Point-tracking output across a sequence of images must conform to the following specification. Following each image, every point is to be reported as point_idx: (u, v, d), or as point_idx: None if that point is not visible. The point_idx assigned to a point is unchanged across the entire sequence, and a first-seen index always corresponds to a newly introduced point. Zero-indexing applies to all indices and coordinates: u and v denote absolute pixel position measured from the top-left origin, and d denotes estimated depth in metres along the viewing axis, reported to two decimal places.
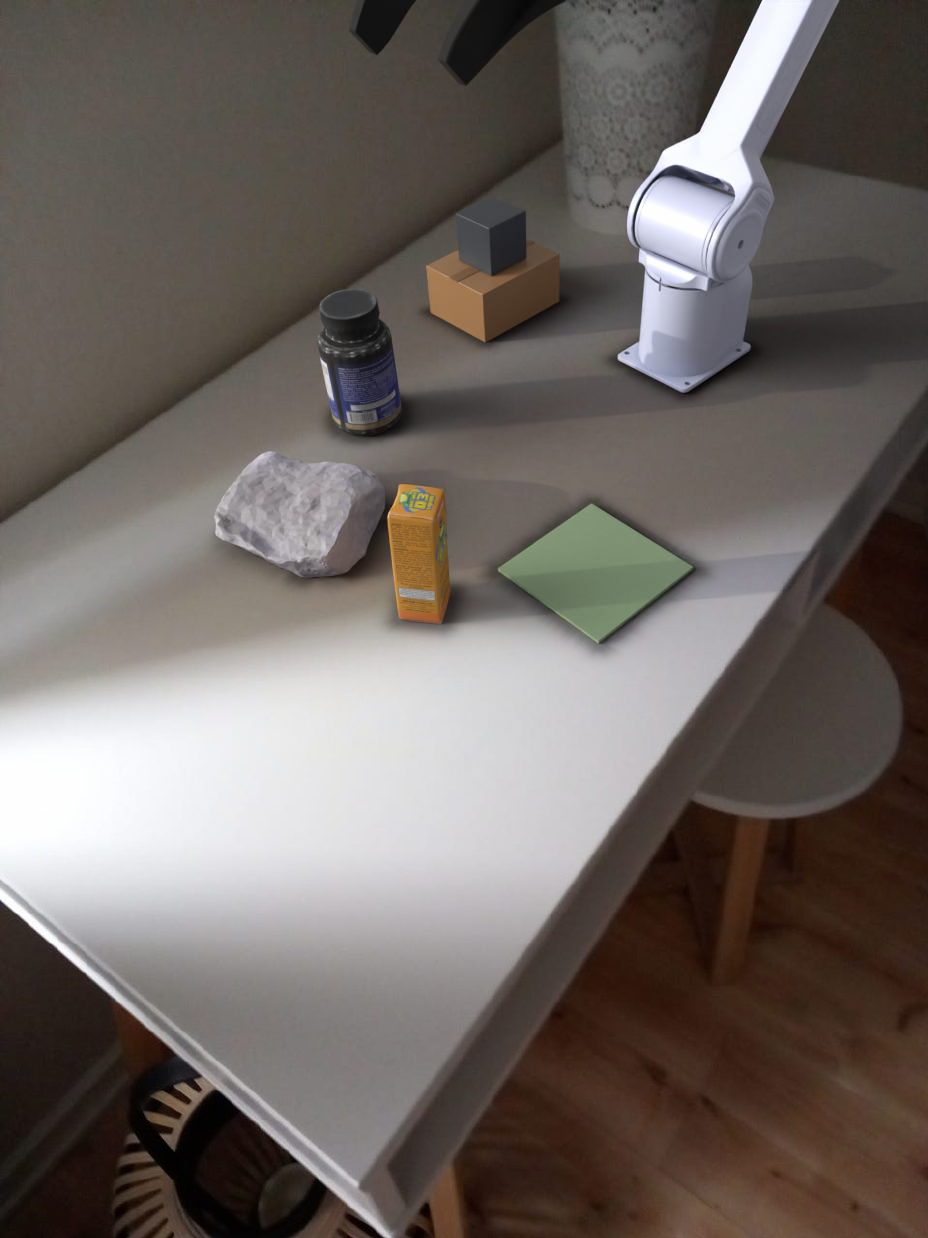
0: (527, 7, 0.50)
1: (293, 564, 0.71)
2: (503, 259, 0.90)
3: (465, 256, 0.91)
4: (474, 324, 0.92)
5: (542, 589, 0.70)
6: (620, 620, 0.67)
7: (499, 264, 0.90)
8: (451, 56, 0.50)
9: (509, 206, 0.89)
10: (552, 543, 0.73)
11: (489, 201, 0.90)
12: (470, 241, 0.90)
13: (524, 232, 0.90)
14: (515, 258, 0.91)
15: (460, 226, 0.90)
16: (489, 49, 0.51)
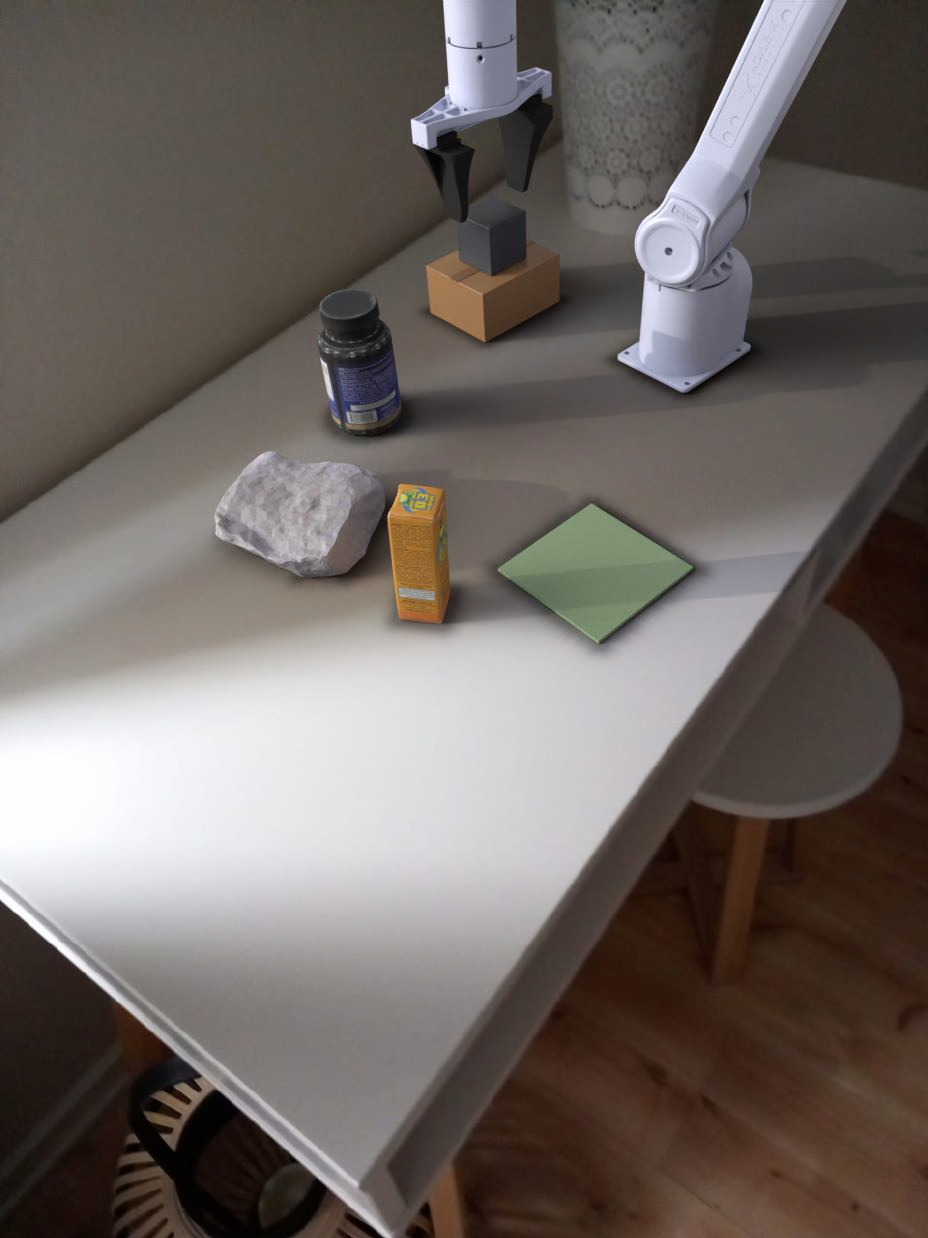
0: None
1: (293, 564, 0.71)
2: (503, 259, 0.90)
3: (465, 256, 0.91)
4: (474, 324, 0.92)
5: (542, 589, 0.70)
6: (620, 620, 0.67)
7: (499, 264, 0.90)
8: (446, 212, 0.87)
9: (509, 206, 0.89)
10: (552, 543, 0.73)
11: (489, 201, 0.90)
12: (470, 241, 0.90)
13: (524, 232, 0.90)
14: (515, 258, 0.91)
15: (460, 226, 0.90)
16: (457, 200, 0.84)
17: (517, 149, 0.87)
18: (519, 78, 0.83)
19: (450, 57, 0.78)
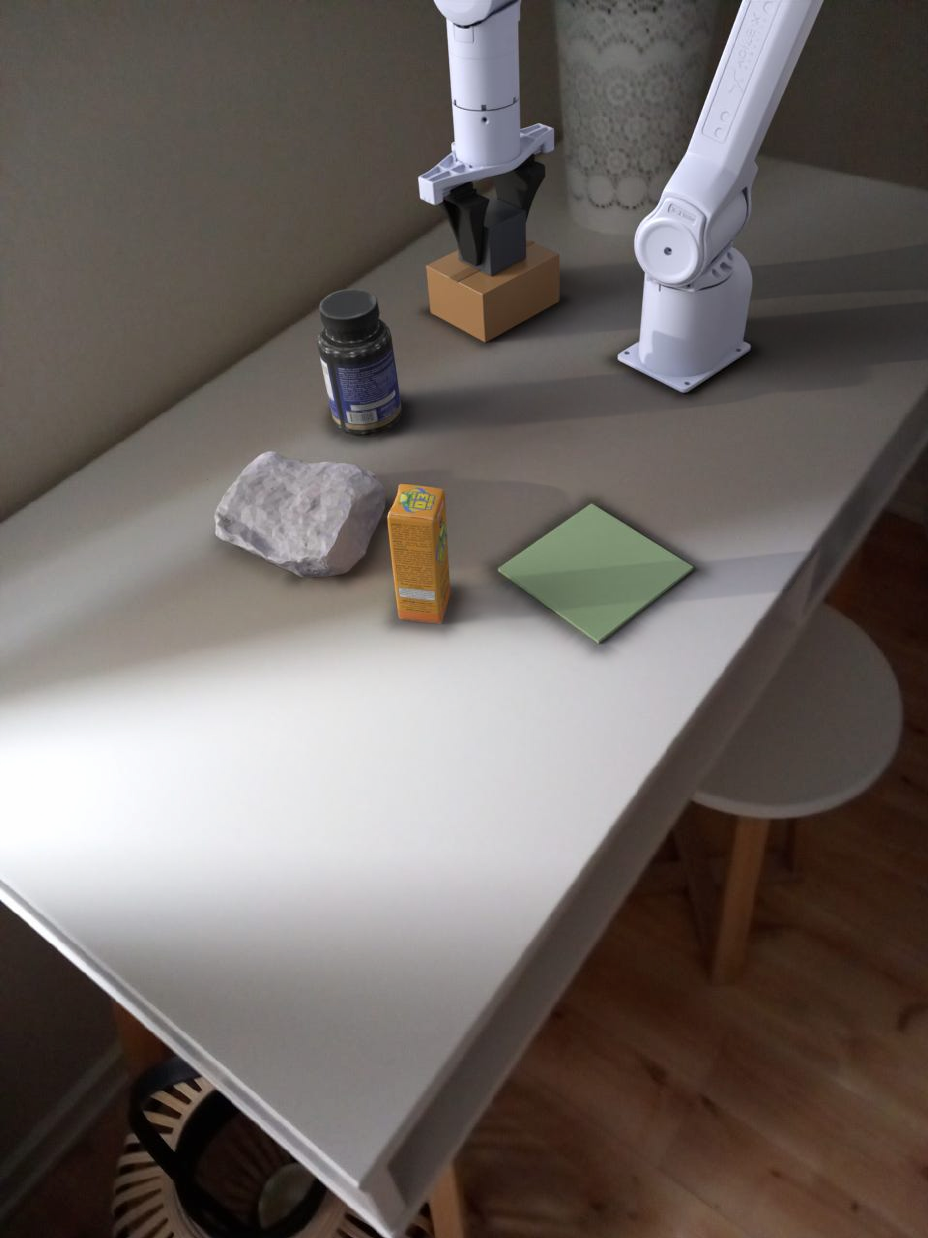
0: (467, 220, 0.86)
1: (293, 564, 0.71)
2: (503, 259, 0.90)
3: None
4: (474, 324, 0.92)
5: (542, 589, 0.70)
6: (620, 620, 0.67)
7: (499, 264, 0.90)
8: (462, 256, 0.91)
9: (509, 206, 0.89)
10: (552, 543, 0.73)
11: None
12: None
13: (524, 232, 0.90)
14: (514, 258, 0.91)
15: None
16: (473, 245, 0.88)
17: None
18: (523, 134, 0.87)
19: (456, 118, 0.82)
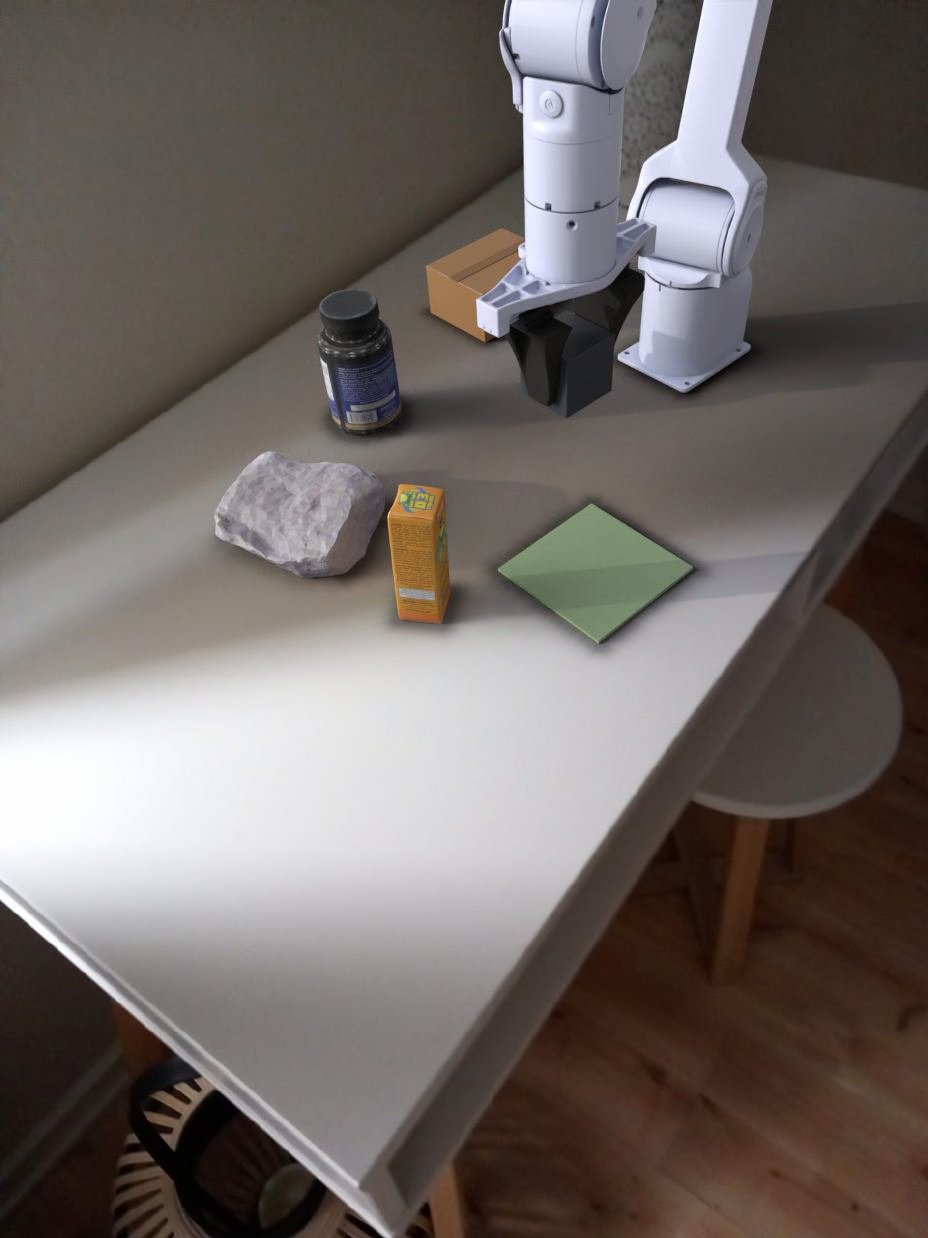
0: None
1: (293, 564, 0.71)
2: (582, 396, 0.67)
3: None
4: (474, 324, 0.92)
5: (542, 589, 0.70)
6: (620, 620, 0.67)
7: (577, 403, 0.67)
8: (528, 391, 0.68)
9: (592, 327, 0.66)
10: (552, 543, 0.73)
11: (563, 318, 0.67)
12: None
13: (611, 360, 0.67)
14: (597, 393, 0.68)
15: None
16: (545, 381, 0.65)
17: None
18: None
19: (530, 219, 0.59)
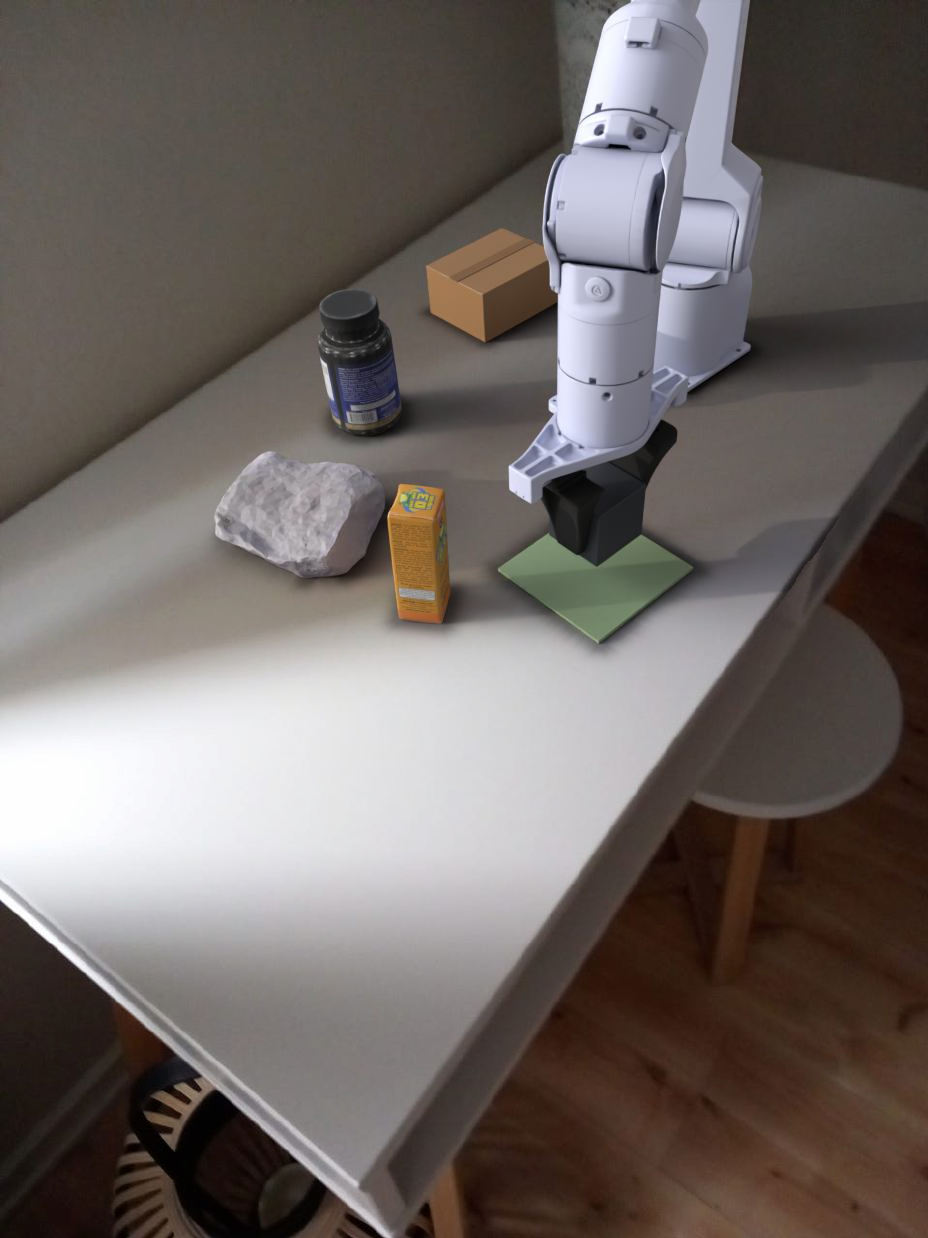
0: (572, 510, 0.62)
1: (293, 564, 0.71)
2: (613, 545, 0.66)
3: None
4: (474, 324, 0.92)
5: (542, 589, 0.70)
6: (620, 620, 0.67)
7: (607, 552, 0.66)
8: (557, 538, 0.67)
9: (622, 476, 0.65)
10: (552, 543, 0.73)
11: None
12: None
13: (642, 508, 0.66)
14: (627, 539, 0.67)
15: None
16: (576, 534, 0.64)
17: None
18: None
19: (564, 387, 0.58)
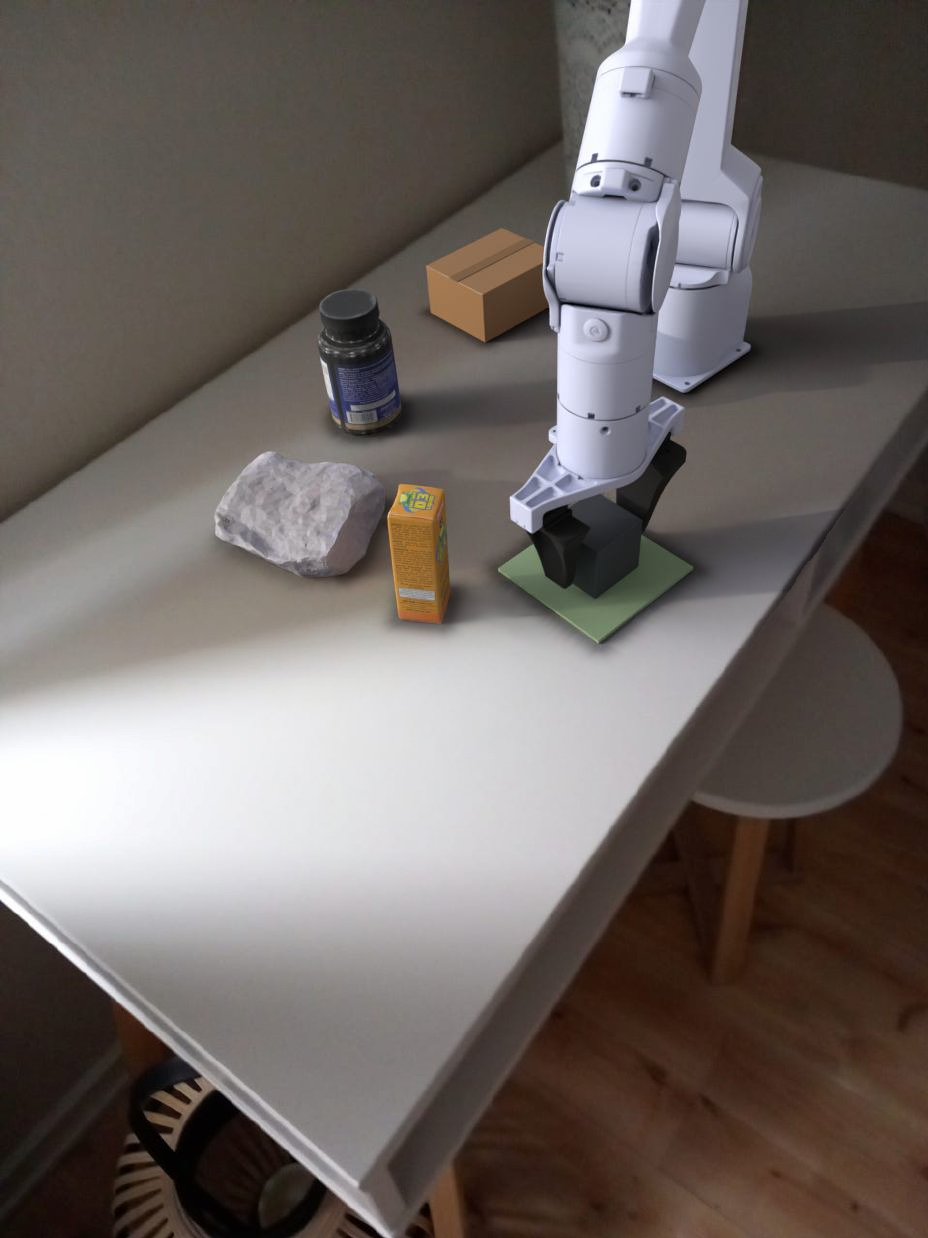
0: (558, 547, 0.63)
1: (293, 564, 0.71)
2: (611, 578, 0.68)
3: None
4: (474, 324, 0.92)
5: (542, 589, 0.70)
6: (620, 620, 0.67)
7: (605, 585, 0.68)
8: (545, 572, 0.68)
9: (620, 511, 0.68)
10: None
11: (591, 500, 0.69)
12: None
13: (638, 542, 0.68)
14: (624, 572, 0.69)
15: None
16: (562, 569, 0.66)
17: (635, 491, 0.68)
18: None
19: (563, 420, 0.59)
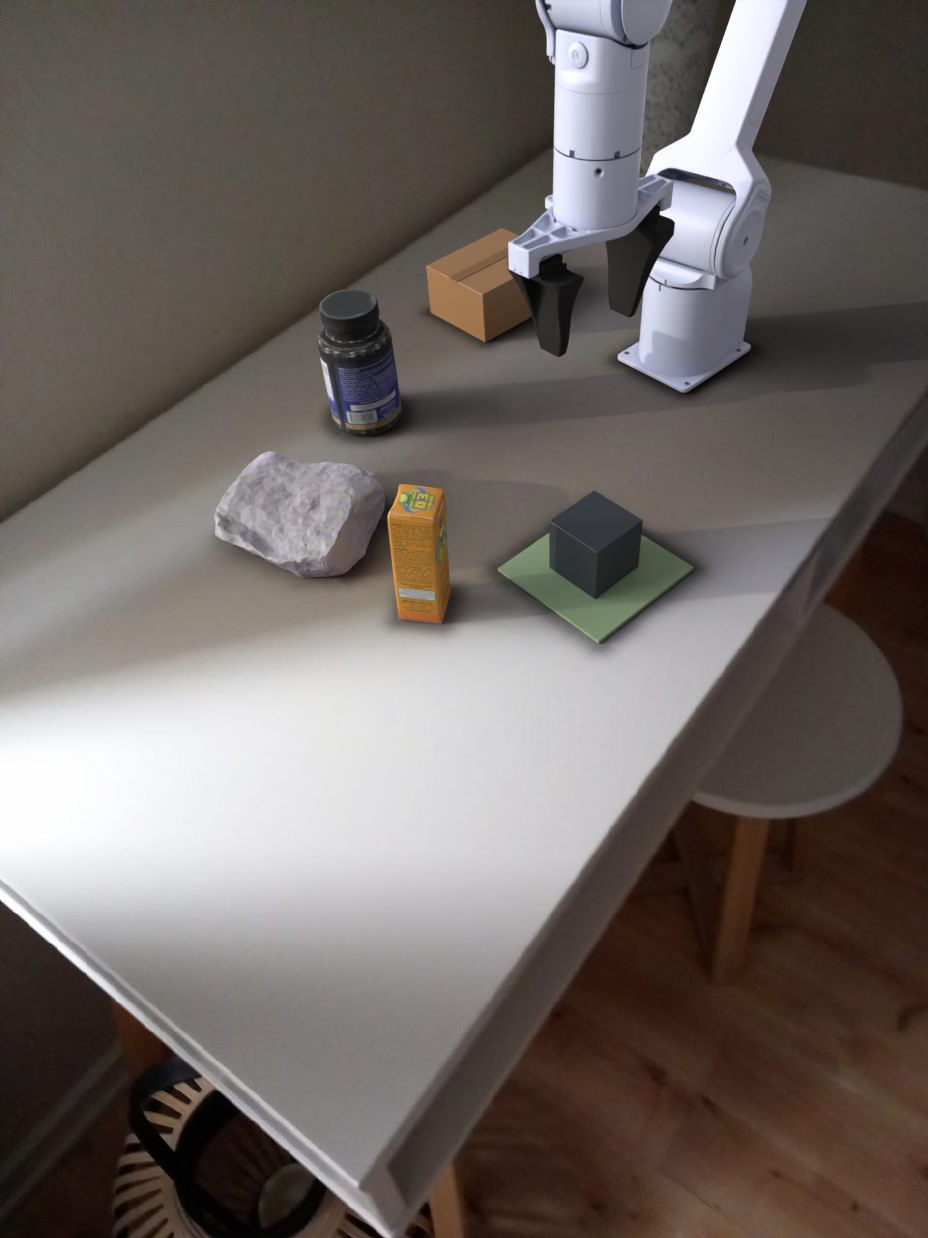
0: (553, 303, 0.67)
1: (293, 564, 0.71)
2: (611, 578, 0.68)
3: (559, 567, 0.70)
4: (474, 324, 0.92)
5: (542, 589, 0.70)
6: (620, 620, 0.67)
7: (605, 585, 0.68)
8: (540, 343, 0.72)
9: (620, 511, 0.68)
10: None
11: (591, 500, 0.69)
12: (568, 555, 0.68)
13: (638, 542, 0.68)
14: (624, 572, 0.69)
15: (554, 536, 0.68)
16: (557, 332, 0.69)
17: (626, 269, 0.72)
18: None
19: (559, 168, 0.63)
